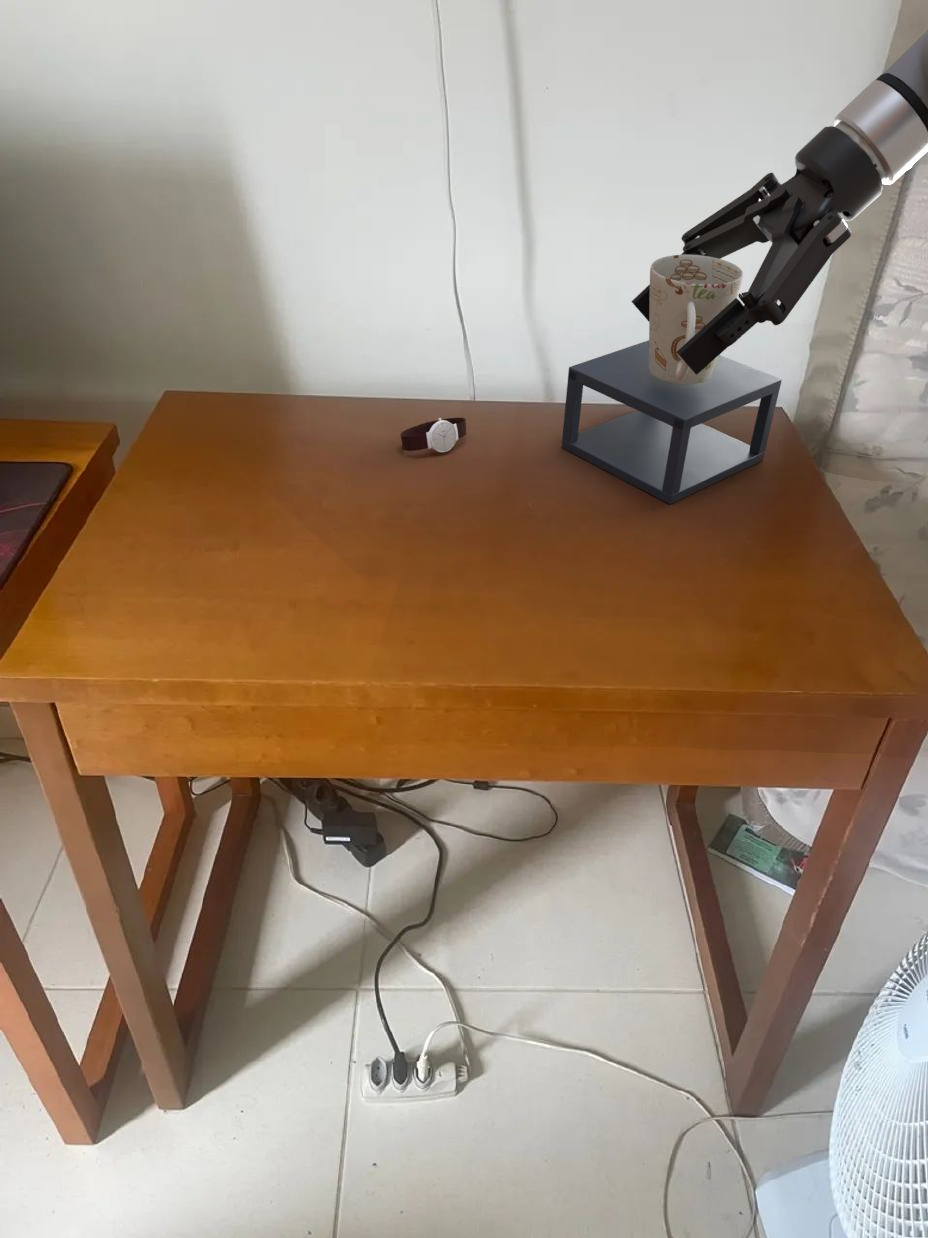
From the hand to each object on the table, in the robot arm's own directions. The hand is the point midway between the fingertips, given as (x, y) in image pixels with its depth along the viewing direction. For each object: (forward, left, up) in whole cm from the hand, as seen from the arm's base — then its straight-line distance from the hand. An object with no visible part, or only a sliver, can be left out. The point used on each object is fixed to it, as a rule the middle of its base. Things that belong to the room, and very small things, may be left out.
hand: (661, 336), depth 91 cm
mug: (-1, -2, -5) cm, 5 cm away
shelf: (+2, -5, -15) cm, 15 cm away
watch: (+18, +13, -15) cm, 26 cm away
